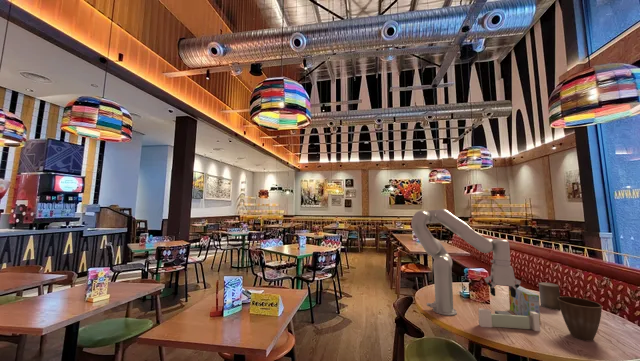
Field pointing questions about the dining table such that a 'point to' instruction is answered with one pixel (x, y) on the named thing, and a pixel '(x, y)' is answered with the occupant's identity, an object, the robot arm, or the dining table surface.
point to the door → (511, 321)
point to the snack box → (524, 302)
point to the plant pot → (580, 316)
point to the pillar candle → (549, 295)
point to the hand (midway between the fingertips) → (503, 296)
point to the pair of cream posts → (486, 319)
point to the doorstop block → (502, 312)
